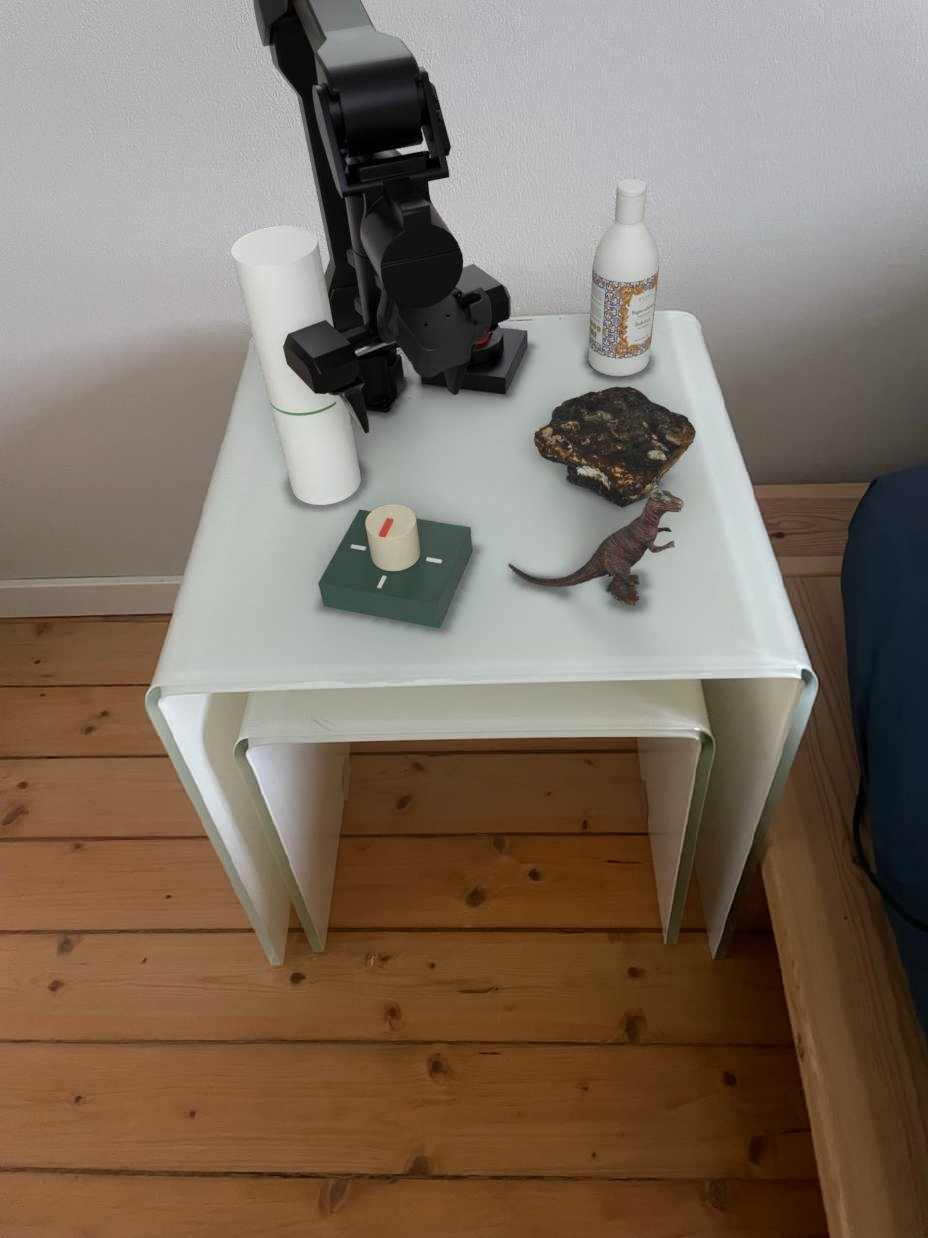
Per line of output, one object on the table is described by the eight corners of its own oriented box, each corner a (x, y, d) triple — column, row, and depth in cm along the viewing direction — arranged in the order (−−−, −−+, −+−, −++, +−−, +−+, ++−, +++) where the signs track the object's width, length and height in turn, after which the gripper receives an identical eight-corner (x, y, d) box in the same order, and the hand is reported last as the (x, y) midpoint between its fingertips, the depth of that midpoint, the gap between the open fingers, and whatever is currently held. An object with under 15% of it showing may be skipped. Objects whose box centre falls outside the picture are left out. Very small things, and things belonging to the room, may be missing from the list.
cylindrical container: (373, 469, 95) (333, 232, 76) (338, 511, 90) (288, 272, 72) (314, 454, 97) (262, 220, 78) (278, 495, 93) (214, 258, 74)
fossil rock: (594, 409, 99) (597, 362, 95) (706, 456, 93) (714, 409, 88) (515, 476, 92) (514, 429, 88) (629, 532, 86) (634, 485, 82)
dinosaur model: (685, 502, 70) (494, 499, 73) (676, 610, 79) (505, 604, 82) (685, 471, 73) (501, 469, 76) (677, 579, 81) (511, 574, 84)
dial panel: (323, 606, 82) (317, 581, 79) (363, 532, 88) (358, 507, 86) (439, 628, 79) (436, 603, 77) (472, 550, 86) (470, 525, 83)
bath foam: (614, 385, 102) (627, 206, 87) (575, 359, 106) (582, 183, 91) (661, 364, 104) (682, 185, 89) (622, 338, 108) (635, 163, 93)
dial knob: (381, 533, 83) (375, 497, 80) (426, 541, 82) (422, 505, 79) (364, 567, 81) (357, 531, 77) (411, 575, 80) (406, 538, 76)
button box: (421, 384, 104) (418, 353, 101) (447, 337, 111) (445, 307, 108) (505, 394, 102) (504, 363, 99) (527, 346, 108) (527, 316, 105)
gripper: (330, 329, 62) (361, 502, 74) (551, 244, 68) (548, 416, 80) (261, 265, 68) (300, 433, 80) (469, 192, 74) (477, 359, 86)
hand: (409, 411), depth 81 cm, fingers open, 9 cm apart
